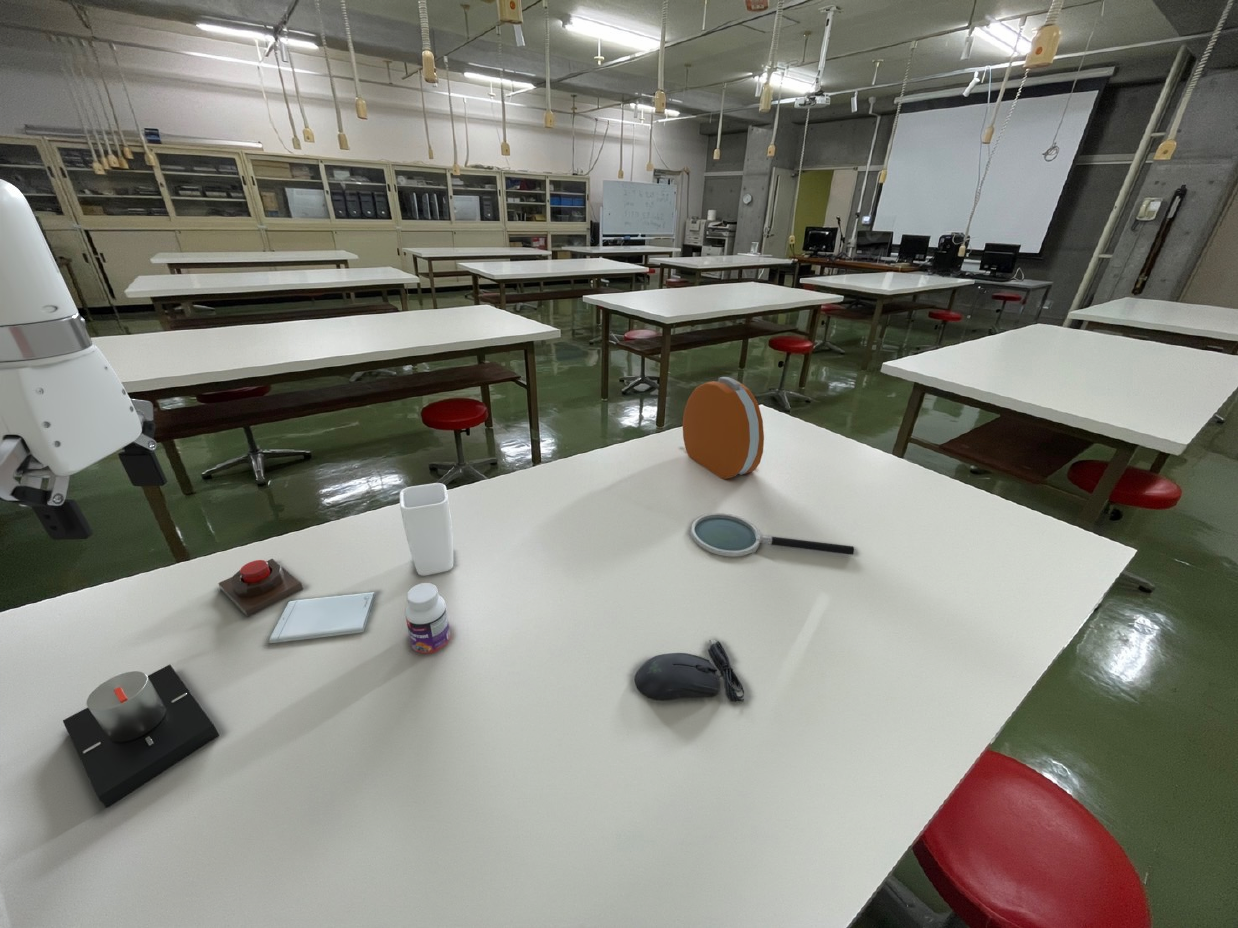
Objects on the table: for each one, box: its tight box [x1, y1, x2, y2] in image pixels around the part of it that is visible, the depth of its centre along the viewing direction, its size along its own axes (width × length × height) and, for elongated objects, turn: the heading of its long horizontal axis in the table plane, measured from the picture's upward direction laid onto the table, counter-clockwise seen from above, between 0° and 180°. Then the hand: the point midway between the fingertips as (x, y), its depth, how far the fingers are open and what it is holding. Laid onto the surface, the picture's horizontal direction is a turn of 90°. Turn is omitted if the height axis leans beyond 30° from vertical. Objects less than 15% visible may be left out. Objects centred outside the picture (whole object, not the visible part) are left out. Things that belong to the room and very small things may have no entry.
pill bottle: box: [404, 582, 451, 654], centre depth 71 cm, size 5×5×10 cm
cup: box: [399, 482, 454, 576], centre depth 85 cm, size 7×7×15 cm
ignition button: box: [239, 559, 270, 583], centre depth 79 cm, size 4×4×2 cm
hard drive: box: [268, 591, 376, 644], centre depth 76 cm, size 2×8×12 cm
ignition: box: [217, 558, 304, 618], centre depth 80 cm, size 10×8×4 cm
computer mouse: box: [634, 637, 745, 703], centre depth 68 cm, size 10×15×4 cm
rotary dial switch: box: [62, 664, 220, 809], centre depth 58 cm, size 14×10×3 cm
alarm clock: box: [682, 376, 765, 480], centre depth 123 cm, size 22×10×23 cm, turn 30°
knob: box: [86, 670, 166, 742], centre depth 56 cm, size 5×5×6 cm
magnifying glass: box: [690, 512, 855, 558], centre depth 97 cm, size 13×31×2 cm, turn 81°
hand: (115, 509), depth 50 cm, fingers open, 9 cm apart
